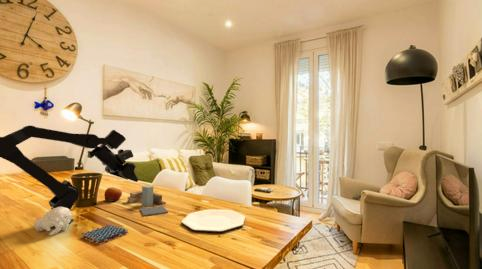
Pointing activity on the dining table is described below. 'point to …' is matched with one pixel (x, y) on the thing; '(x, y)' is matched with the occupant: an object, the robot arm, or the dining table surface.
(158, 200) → the brown wooden block
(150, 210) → the felt pad
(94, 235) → the woven mat
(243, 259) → the dining table surface
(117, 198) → the fruit
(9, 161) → the robot arm
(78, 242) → the dining table surface
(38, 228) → the animal skull
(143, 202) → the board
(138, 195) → the offcut stack
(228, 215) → the plate
